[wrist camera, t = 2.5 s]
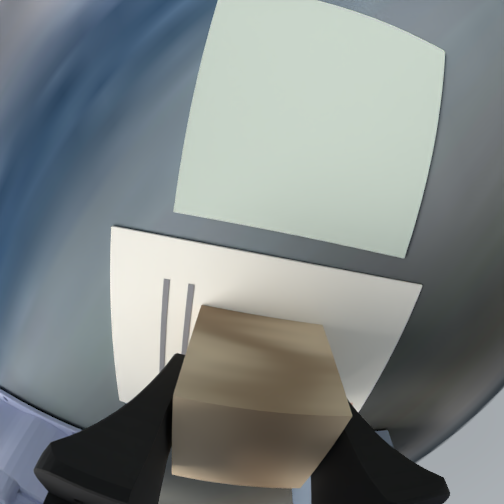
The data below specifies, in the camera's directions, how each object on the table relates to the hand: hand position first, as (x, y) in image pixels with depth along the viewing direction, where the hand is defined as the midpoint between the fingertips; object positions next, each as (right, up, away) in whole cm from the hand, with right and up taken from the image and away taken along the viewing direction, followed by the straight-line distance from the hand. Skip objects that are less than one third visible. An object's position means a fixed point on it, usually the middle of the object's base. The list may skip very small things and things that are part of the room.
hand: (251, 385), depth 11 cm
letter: (0, +1, +1) cm, 2 cm away
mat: (+3, +10, -2) cm, 11 cm away
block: (0, 0, +1) cm, 2 cm away
